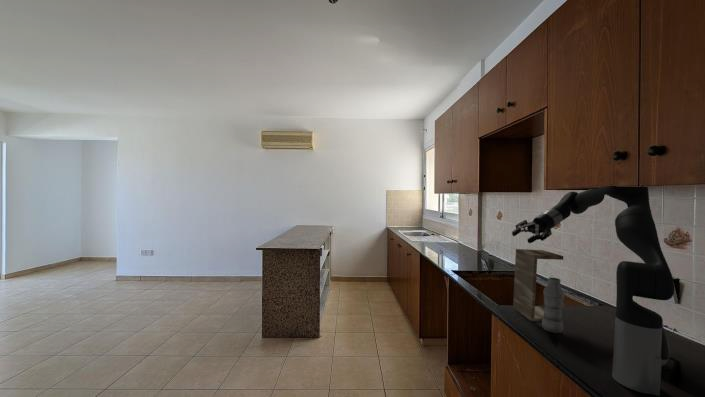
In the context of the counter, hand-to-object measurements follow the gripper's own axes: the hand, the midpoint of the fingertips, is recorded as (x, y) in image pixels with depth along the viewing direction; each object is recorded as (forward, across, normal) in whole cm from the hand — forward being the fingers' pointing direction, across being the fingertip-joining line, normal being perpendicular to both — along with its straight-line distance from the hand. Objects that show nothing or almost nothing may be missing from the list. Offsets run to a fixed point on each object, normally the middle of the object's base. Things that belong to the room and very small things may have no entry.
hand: (520, 237), depth 132 cm
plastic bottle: (+19, +28, +20) cm, 39 cm away
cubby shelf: (+13, +14, +27) cm, 33 cm away
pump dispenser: (+8, +50, +21) cm, 55 cm away
